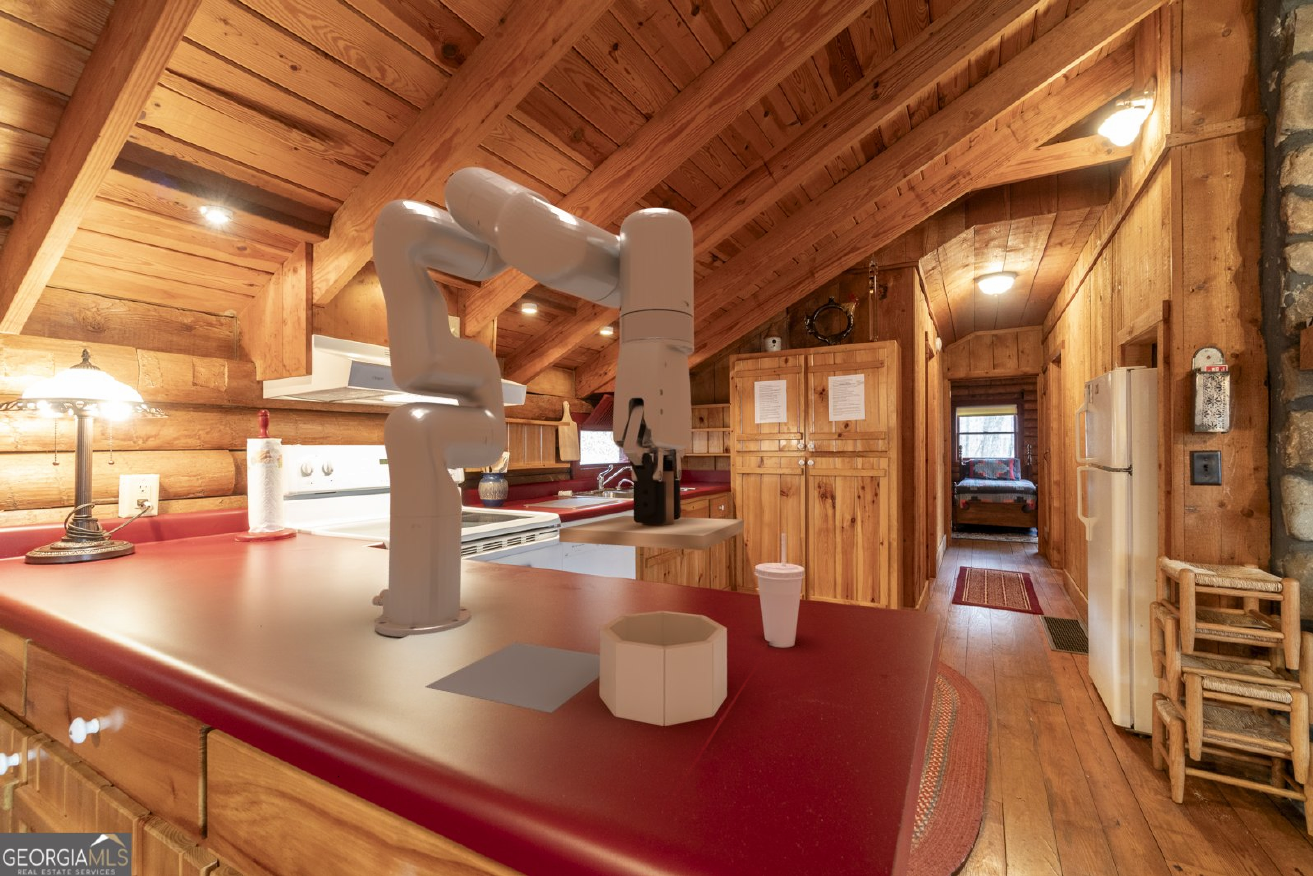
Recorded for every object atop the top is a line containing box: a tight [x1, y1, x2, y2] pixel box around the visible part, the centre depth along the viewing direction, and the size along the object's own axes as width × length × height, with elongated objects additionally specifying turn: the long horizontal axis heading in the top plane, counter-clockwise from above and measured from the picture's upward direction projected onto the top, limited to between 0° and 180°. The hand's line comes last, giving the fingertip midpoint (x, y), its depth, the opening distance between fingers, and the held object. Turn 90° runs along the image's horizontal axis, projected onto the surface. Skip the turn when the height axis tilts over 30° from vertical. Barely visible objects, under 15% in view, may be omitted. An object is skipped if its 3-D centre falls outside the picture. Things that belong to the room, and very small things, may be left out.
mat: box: [424, 641, 600, 714], centre depth 61 cm, size 15×15×1 cm
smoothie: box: [754, 533, 806, 648], centre depth 72 cm, size 6×6×14 cm
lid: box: [558, 471, 745, 551], centre depth 56 cm, size 14×14×6 cm
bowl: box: [598, 610, 728, 727], centre depth 55 cm, size 12×12×7 cm
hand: (657, 519), depth 56 cm, fingers closed on lid, 3 cm apart
